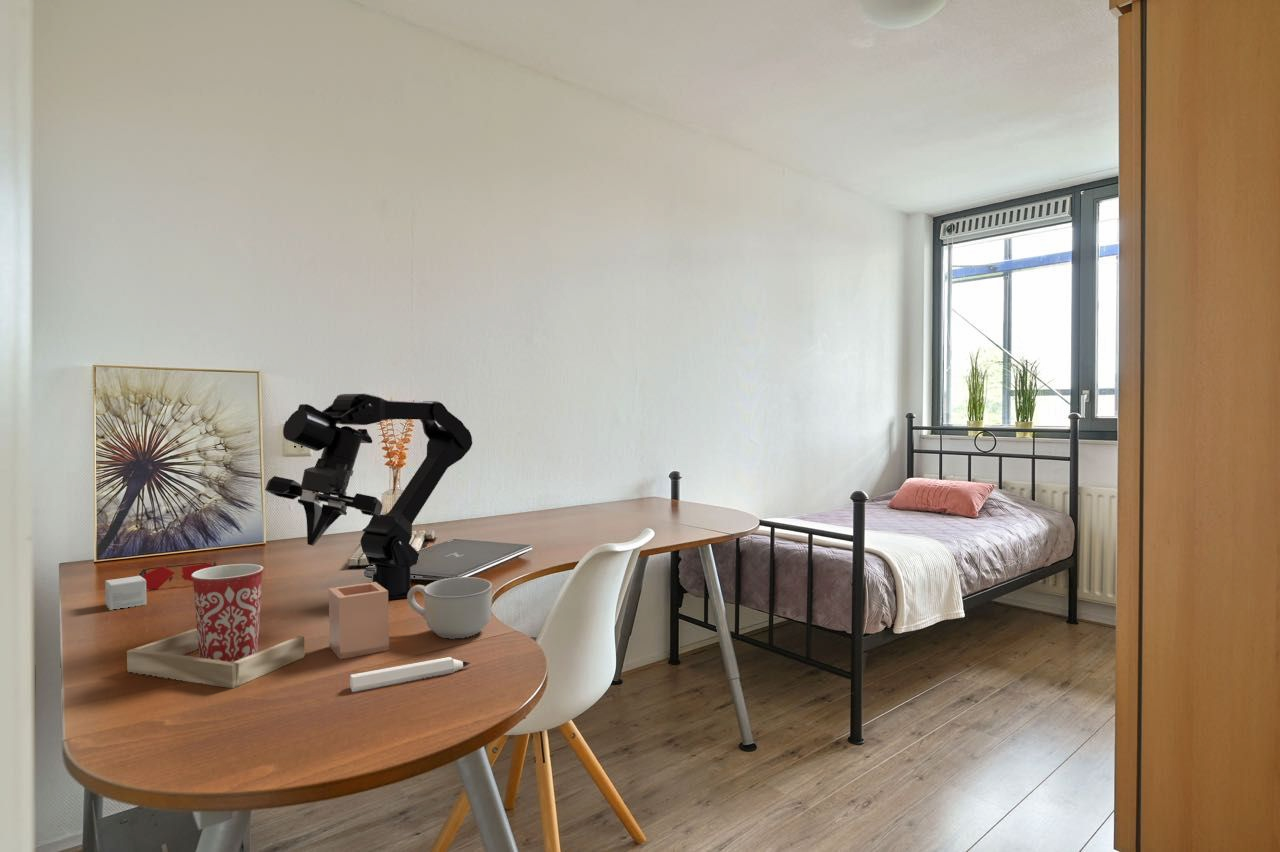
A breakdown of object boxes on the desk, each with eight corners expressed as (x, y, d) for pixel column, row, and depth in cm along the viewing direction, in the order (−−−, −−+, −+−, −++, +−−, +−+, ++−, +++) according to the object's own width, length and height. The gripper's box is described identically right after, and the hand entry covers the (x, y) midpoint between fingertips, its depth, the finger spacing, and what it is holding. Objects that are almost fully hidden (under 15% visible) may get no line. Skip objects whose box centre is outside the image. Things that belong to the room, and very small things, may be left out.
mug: (269, 666, 103) (267, 571, 103) (195, 679, 98) (193, 580, 98) (257, 642, 114) (256, 556, 113) (189, 654, 109) (187, 564, 108)
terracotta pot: (376, 638, 116) (375, 581, 115) (389, 650, 110) (388, 591, 110) (329, 646, 112) (328, 588, 111) (340, 659, 106) (339, 598, 106)
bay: (206, 644, 113) (206, 625, 113) (304, 656, 107) (304, 636, 107) (127, 672, 101) (126, 650, 101) (232, 688, 95) (232, 665, 95)
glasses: (136, 594, 145) (135, 569, 145) (143, 577, 159) (143, 555, 159) (216, 585, 152) (216, 561, 152) (217, 570, 166) (216, 548, 166)
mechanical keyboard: (428, 568, 168) (427, 554, 168) (340, 573, 164) (340, 558, 164) (436, 540, 205) (436, 528, 205) (365, 543, 200) (365, 531, 200)
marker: (472, 674, 102) (351, 697, 94) (468, 663, 104) (349, 684, 96) (475, 661, 101) (353, 682, 93) (470, 650, 103) (351, 670, 95)
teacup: (504, 627, 121) (504, 579, 121) (468, 647, 111) (468, 595, 111) (433, 619, 126) (433, 573, 125) (393, 638, 115) (392, 588, 115)
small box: (140, 599, 140) (140, 574, 140) (147, 605, 136) (146, 579, 135) (104, 605, 136) (103, 579, 136) (110, 611, 132) (109, 584, 131)
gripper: (270, 436, 122) (237, 527, 117) (381, 460, 123) (354, 551, 119) (290, 452, 132) (261, 536, 128) (393, 473, 134) (368, 557, 129)
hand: (310, 545), depth 126 cm, fingers closed
